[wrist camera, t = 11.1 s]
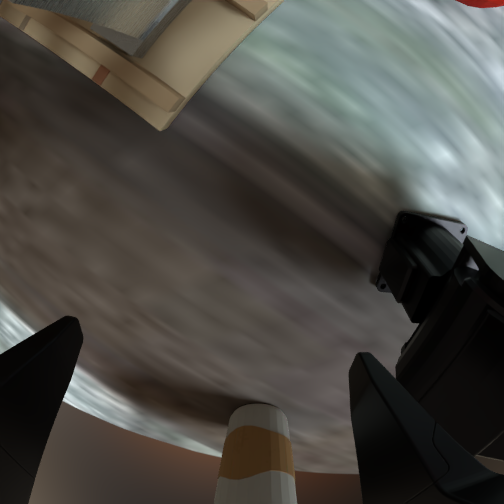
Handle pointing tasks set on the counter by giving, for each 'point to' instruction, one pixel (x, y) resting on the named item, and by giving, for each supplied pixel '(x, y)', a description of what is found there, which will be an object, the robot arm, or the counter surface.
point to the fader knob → (119, 18)
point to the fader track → (149, 51)
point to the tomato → (482, 3)
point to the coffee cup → (257, 458)
